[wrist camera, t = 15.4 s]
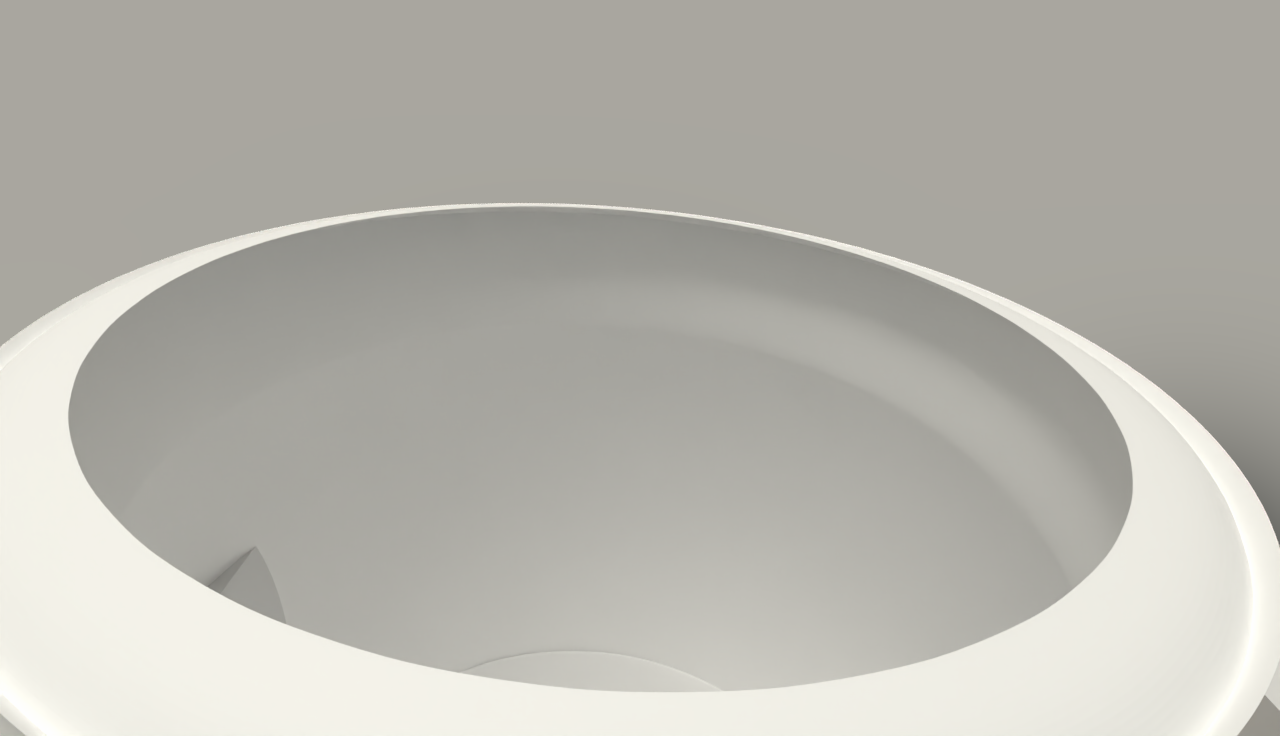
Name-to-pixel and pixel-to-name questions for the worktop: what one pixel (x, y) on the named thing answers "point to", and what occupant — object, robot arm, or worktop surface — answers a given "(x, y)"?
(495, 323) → the jar
